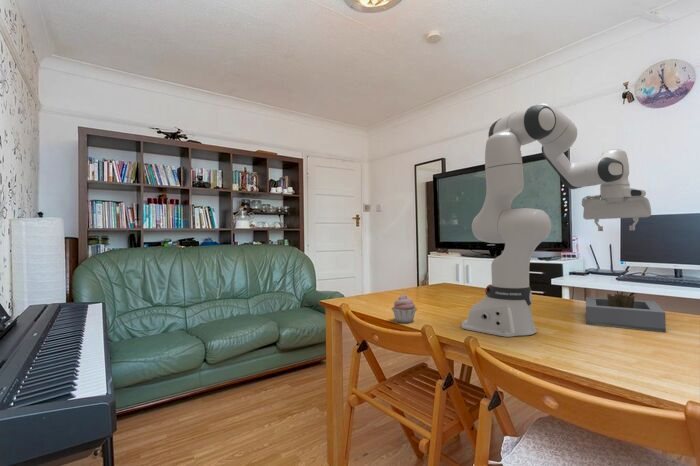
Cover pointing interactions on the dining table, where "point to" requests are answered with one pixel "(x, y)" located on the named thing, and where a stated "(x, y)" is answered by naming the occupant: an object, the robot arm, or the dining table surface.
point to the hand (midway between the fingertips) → (616, 230)
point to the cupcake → (404, 309)
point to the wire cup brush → (621, 301)
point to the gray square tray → (625, 315)
